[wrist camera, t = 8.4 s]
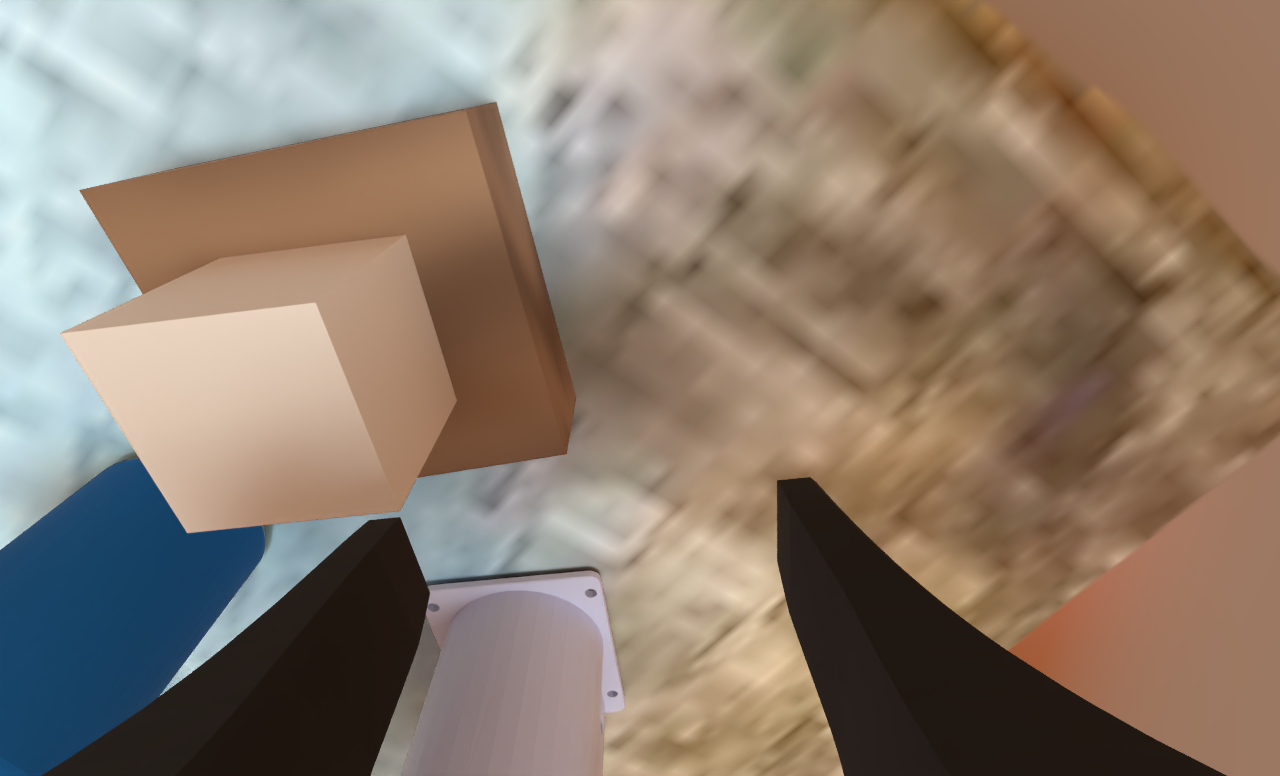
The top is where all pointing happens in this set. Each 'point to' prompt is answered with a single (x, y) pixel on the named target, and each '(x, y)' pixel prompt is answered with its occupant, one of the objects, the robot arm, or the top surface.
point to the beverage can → (104, 612)
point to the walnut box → (376, 208)
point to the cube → (276, 383)
